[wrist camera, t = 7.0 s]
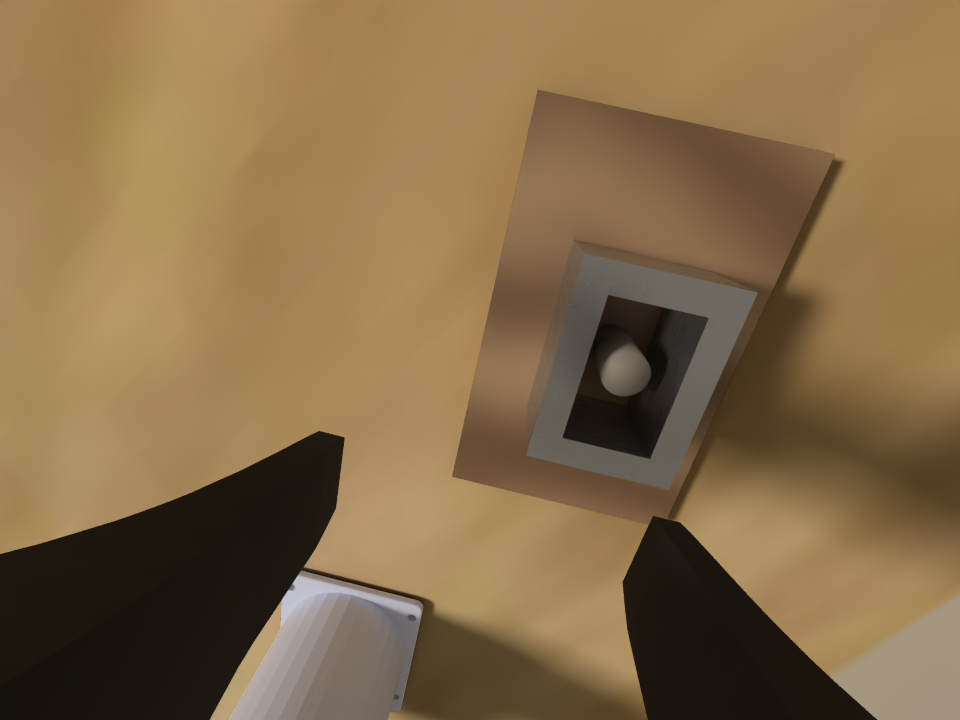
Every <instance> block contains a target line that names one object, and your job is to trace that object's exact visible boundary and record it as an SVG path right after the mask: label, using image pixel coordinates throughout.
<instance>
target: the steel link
mask: <svg viewBox="0 0 960 720" xmlns="http://www.w3.org/2000/svg"><path fill="white" fill-rule="evenodd" d="M757 293H758V292H755V291H753V290H751V289H749V288H746V287H744V286H742V285H740V284H738V283H735V282H733V281H731V280H729V279H726V278H724V277H722V276H720V275H718V274H715V273H713V272H711V271H709V270H706V269H702V268H697V267H693V266H688V265H684V264H680V263H675V262H671V261H666V260H662V259H657V258H653V257H649V256H644V255H640V254H635V253H631V252H626V251H622V250H618V249H613V248H609V247H604V246H600V245H595V244H591V243H587V242H582V241H578V240H573V242H572V246H571V249H570V253H569V256H568V260H567V264H566V267H565V271H564V274H563V278H562V282H561V285H560V289H559V292H558V296H557V300H556V303H555V307H554V310H553V314H552V318H551V321H550V325H549V328H548V332H547V336H546V339H545V343H544V346H543V350H542V354H541V357H540V361H539V364H538V368H537V372H536V375H535V379H534V382H533V386H532V390H531V393H530V397H529V400H528V404H527V437H526V456H530V457H534V458H538V459H542V460H546V461H550V462H554V463H559V464H563V465H567V466H571V467H575V468H579V469H583V470H587V471H592V472H596V473H600V474H604V475H608V476H612V477H616V478H621V479H625V480H629V481H633V482H637V483H641V484H645V485H649V486H654V487H658V488H662V489H666V490H669V489H670V487H671V485H672V482H673V480H674V478H675V476H676V473H677V471H678V469H679V467H680V465H681V462H682V460H683V458H684V456H685V453H686V451H687V449H688V447H689V445H690V442H691V440H692V438H693V436H694V433H695V431H696V429H697V427H698V425H699V422H700V420H701V418H702V416H703V413H704V411H705V409H706V407H707V405H708V402H709V400H710V398H711V396H712V393H713V391H714V389H715V387H716V385H717V382H718V380H719V378H720V376H721V373H722V371H723V369H724V367H725V365H726V362H727V360H728V358H729V356H730V353H731V351H732V349H733V347H734V345H735V342H736V340H737V338H738V336H739V333H740V331H741V329H742V327H743V325H744V322H745V320H746V318H747V316H748V313H749V311H750V309H751V307H752V305H753V302H754V300H755V298H756V296H757ZM608 295H611V296H616V297H620V298H624V299H629V300H633V301H637V302H642V303H646V304H651V305H655V306H659V307H663V310H662V312H661V315H660V318H659V320H658V323H657V326H656V329H655V331H654V334H653V337H652V339H651V342H650V345H649V347H648V350H647V353H646V355H645V359H646V360H647V362H648V363H649V365H650V369H651V375H650V380H649V382H648V384H647V385H646V386H645V388H644V389H642V390H641V391H640V392H638V393H636V394H634V395H631V396H630V398H629V401H628V404H627V405H623V404H618V403H614V402H610V401H606V400H602V399H597V398H593V397H589V396H585V395H580V394H576V393H577V390H578V387H579V384H580V381H581V378H582V375H583V372H584V369H585V365H586V362H587V359H588V356H589V353H590V350H591V347H592V344H593V341H594V337H595V334H596V331H597V328H598V325H599V322H600V319H601V316H602V313H603V309H604V306H605V303H606V300H607V297H608Z"/></svg>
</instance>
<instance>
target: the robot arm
mask: <svg viewBox="0 0 960 720" xmlns="http://www.w3.org/2000/svg"><path fill="white" fill-rule="evenodd" d="M344 439H345V437H341V436H337V435H333V434H329V433H325V432H321V431H318V432H316V433H314V434H312V435H310V436H308V437H306V438H304V439H302V440H300V441H298V442H296V443H294V444H292V445H290V446H289V447H287V448H285V449H283V450H281V451H279V452H277V453H275V454H273V455H271V456H269V457H267V458H265V459H263V460H261V461H259V462H257V463H255V464H253V465H251V466H249V467H247V468H245V469H243V470H241V471H239V472H237V473H234V474H232V475H230V476H228V477H225V478H223V479H221V480H219V481H216V482H214V483H212V484H210V485H207V486H205V487H203V488H201V489H198V490H196V491H194V492H192V493H189V494H187V495H184V496H182V497H180V498H177V499H175V500H172V501H169V502H167V503H164V504H162V505H159V506H156V507H153V508H151V509H148V510H145V511H142V512H140V513H137V514H134V515H131V516H129V517H126V518H123V519H120V520H117V521H114V522H111V523H107V524H104V525H101V526H97V527H94V528H91V529H87V530H84V531H81V532H78V533H74V534H71V535H68V536H64V537H61V538H58V539H54V540H51V541H48V542H45V543H41V544H37V545H34V546H30V547H26V548H22V549H18V550H14V551H11V552H7V553H3V554H0V720H210V718H211V716H212V714H213V712H214V711H215V709H216V707H217V705H218V703H219V701H220V700H221V698H222V696H223V694H224V692H225V691H226V689H227V687H228V685H229V683H230V681H231V680H232V678H233V676H234V674H235V672H236V671H237V669H238V667H239V665H240V664H241V662H242V660H243V659H244V657H245V655H246V654H247V652H248V650H249V649H250V647H251V646H252V644H253V642H254V641H255V639H256V638H257V636H258V635H259V633H260V632H261V630H262V629H263V627H264V626H265V624H266V623H267V621H268V620H269V618H270V617H271V615H272V614H273V612H274V611H275V609H276V608H277V606H278V605H279V603H280V602H281V600H282V610H281V628H280V631H279V633H278V634H277V636H276V638H275V640H274V641H273V643H272V645H271V647H270V648H269V650H268V652H267V653H266V655H265V657H264V659H263V660H262V662H261V664H260V666H259V667H258V669H257V671H256V672H255V674H254V676H253V678H252V679H251V681H250V683H249V685H248V686H247V688H246V690H245V691H244V693H243V695H242V697H241V698H240V700H239V702H238V704H237V705H236V707H235V709H234V710H233V712H232V714H231V716H230V717H229V719H228V720H388V717H389V713H390V711H392V712H397V711H399V710H400V709H401V707H402V703H403V698H404V694H405V689H406V685H407V680H408V676H409V671H410V667H411V662H412V657H413V653H414V648H415V644H416V639H417V635H418V630H419V626H420V621H421V617H422V612H423V605H422V603H421V602H420V601H418V600H415V599H411V598H407V597H403V596H399V595H395V594H391V593H387V592H383V591H379V590H376V589H372V588H368V587H364V586H360V585H356V584H352V583H348V582H344V581H340V580H336V579H332V578H328V577H324V576H320V575H317V574H313V573H309V572H305V571H301V570H302V569H303V567H304V565H305V564H306V562H307V561H308V559H309V558H310V556H311V555H312V553H313V552H314V550H315V549H316V547H317V545H318V543H319V541H320V539H321V537H322V535H323V533H324V531H325V529H326V527H327V525H328V523H329V521H330V519H331V517H332V515H333V513H334V511H335V509H336V504H337V496H338V487H339V479H340V471H341V463H342V455H343V447H344ZM623 591H624V603H625V613H626V621H627V629H628V634H629V639H630V644H631V648H632V652H633V657H634V661H635V666H636V670H637V675H638V679H639V683H640V688H641V692H642V696H643V701H644V705H645V709H646V714H647V718H648V720H877V719H876V718H875V717H873V716H872V715H871V714H870V713H869V712H868V711H866V709H865V708H863V707H862V706H861V705H860V704H859V703H858V702H857V701H856V700H855V699H853V698H852V697H851V696H850V695H849V694H848V693H847V692H846V691H845V690H843V689H842V688H841V687H840V686H839V685H838V684H837V683H835V682H834V681H833V680H832V679H831V678H830V677H829V676H828V675H827V674H826V673H825V672H824V671H823V670H822V669H821V668H820V667H818V666H817V665H816V664H815V663H814V662H813V661H812V660H811V659H810V658H809V657H808V656H807V655H806V654H805V653H804V652H803V651H802V650H801V649H800V648H799V647H798V646H797V645H796V644H795V643H794V642H793V641H792V640H791V639H790V638H789V637H788V636H787V635H786V634H785V633H784V632H783V631H782V630H781V629H780V628H779V627H778V626H777V625H776V624H775V623H774V622H773V621H772V620H771V619H770V618H769V617H768V616H767V615H766V614H765V613H764V612H763V610H762V609H761V608H760V607H759V606H758V605H757V604H756V603H755V602H754V601H753V600H752V599H751V598H750V597H749V596H748V595H747V593H746V592H745V591H744V590H743V589H742V588H741V587H740V586H739V585H738V584H737V583H736V582H735V581H734V579H733V578H732V577H731V576H730V575H729V574H728V573H727V572H726V571H725V570H724V569H723V567H722V566H721V565H720V564H719V563H718V562H717V561H716V560H715V559H714V558H713V556H712V555H711V554H710V553H709V552H708V551H707V550H706V549H705V548H704V547H703V546H702V545H701V543H700V542H699V541H698V540H697V539H696V538H695V537H694V536H693V535H692V534H691V533H690V532H689V531H688V530H687V529H686V528H685V527H684V526H683V525H682V524H681V523H680V522H676V521H672V520H668V519H664V518H660V517H656V516H653V517H652V519H651V521H650V524H649V526H648V528H647V530H646V532H645V534H644V537H643V539H642V541H641V543H640V545H639V548H638V550H637V552H636V554H635V556H634V558H633V561H632V563H631V565H630V567H629V569H628V572H627V574H626V576H625V578H624V580H623Z"/></svg>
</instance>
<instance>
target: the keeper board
mask: <svg viewBox="0 0 960 720" xmlns="http://www.w3.org/2000/svg"><path fill="white" fill-rule="evenodd" d="M834 156H835V154H833V153H828V152H824V151H819V150H814V149H810V148H805V147H801V146H796V145H791V144H787V143H782V142H777V141H773V140H768V139H764V138H759V137H754V136H750V135H745V134H740V133H736V132H731V131H726V130H722V129H717V128H713V127H708V126H703V125H699V124H694V123H689V122H685V121H680V120H676V119H671V118H666V117H662V116H657V115H652V114H648V113H643V112H638V111H634V110H629V109H625V108H620V107H615V106H611V105H606V104H601V103H597V102H592V101H588V100H583V99H578V98H574V97H569V96H564V95H560V94H555V93H550V92H546V91H541V90H538V91H537V96H536V100H535V105H534V109H533V114H532V118H531V123H530V127H529V132H528V136H527V141H526V145H525V150H524V154H523V159H522V163H521V168H520V172H519V177H518V181H517V186H516V191H515V195H514V200H513V204H512V209H511V213H510V218H509V222H508V227H507V231H506V236H505V240H504V245H503V249H502V254H501V258H500V263H499V267H498V272H497V276H496V281H495V285H494V290H493V294H492V299H491V303H490V308H489V313H488V317H487V322H486V326H485V331H484V335H483V340H482V344H481V349H480V353H479V358H478V362H477V367H476V371H475V376H474V380H473V385H472V389H471V394H470V398H469V403H468V407H467V412H466V416H465V421H464V425H463V430H462V434H461V439H460V444H459V448H458V453H457V457H456V462H455V466H454V471H453V475H452V477H456V478H460V479H464V480H468V481H472V482H476V483H480V484H485V485H489V486H493V487H497V488H501V489H505V490H509V491H513V492H517V493H521V494H525V495H529V496H534V497H538V498H542V499H546V500H550V501H554V502H558V503H562V504H566V505H570V506H574V507H578V508H583V509H587V510H591V511H595V512H599V513H603V514H607V515H611V516H615V517H619V518H623V519H628V520H632V521H636V522H640V523H644V524H648V525H649V524H650V521H651V519H652V517H653V516H656V517H660V518H664V519H667V518H668V515H669V513H670V511H671V509H672V507H673V505H674V502H675V500H676V498H677V496H678V494H679V492H680V489H681V487H682V485H683V483H684V481H685V479H686V476H687V474H688V472H689V470H690V468H691V466H692V463H693V461H694V459H695V457H696V455H697V453H698V450H699V448H700V446H701V444H702V442H703V440H704V437H705V435H706V433H707V431H708V429H709V427H710V424H711V422H712V420H713V418H714V416H715V414H716V411H717V409H718V407H719V405H720V403H721V401H722V398H723V396H724V394H725V392H726V390H727V388H728V385H729V383H730V381H731V379H732V377H733V375H734V372H735V370H736V368H737V366H738V364H739V362H740V359H741V357H742V355H743V353H744V351H745V349H746V346H747V344H748V342H749V340H750V338H751V336H752V333H753V331H754V329H755V327H756V325H757V323H758V320H759V318H760V316H761V314H762V312H763V310H764V307H765V305H766V303H767V301H768V299H769V297H770V294H771V292H772V290H773V288H774V286H775V284H776V281H777V279H778V277H779V275H780V273H781V271H782V268H783V266H784V264H785V262H786V260H787V258H788V255H789V253H790V251H791V249H792V247H793V245H794V243H795V240H796V238H797V236H798V234H799V232H800V230H801V227H802V225H803V223H804V221H805V219H806V217H807V214H808V212H809V210H810V208H811V206H812V204H813V201H814V199H815V197H816V195H817V193H818V191H819V188H820V186H821V184H822V182H823V180H824V178H825V175H826V173H827V171H828V169H829V167H830V165H831V162H832V160H833V158H834ZM573 240H578V241H582V242H587V243H591V244H595V245H600V246H604V247H609V248H613V249H618V250H622V251H626V252H631V253H635V254H640V255H644V256H649V257H653V258H657V259H662V260H666V261H671V262H675V263H680V264H684V265H688V266H693V267H697V268H702V269H706V270H709V271H711V272H713V273H715V274H718V275H720V276H722V277H724V278H726V279H729V280H731V281H733V282H735V283H738V284H740V285H742V286H744V287H746V288H749V289H751V290H753V291H755V292H758V293H757V296H756V298H755V300H754V302H753V305H752V307H751V309H750V311H749V313H748V316H747V318H746V320H745V322H744V325H743V327H742V329H741V331H740V333H739V336H738V338H737V340H736V342H735V345H734V347H733V349H732V351H731V353H730V356H729V358H728V360H727V362H726V365H725V367H724V369H723V371H722V373H721V376H720V378H719V380H718V382H717V385H716V387H715V389H714V391H713V393H712V396H711V398H710V400H709V402H708V405H707V407H706V409H705V411H704V413H703V416H702V418H701V420H700V422H699V425H698V427H697V429H696V431H695V433H694V436H693V438H692V440H691V442H690V445H689V447H688V449H687V451H686V453H685V456H684V458H683V460H682V462H681V465H680V467H679V469H678V471H677V473H676V476H675V478H674V480H673V482H672V485H671V487H670V489H669V490H666V489H662V488H658V487H654V486H649V485H645V484H641V483H637V482H633V481H629V480H625V479H621V478H616V477H612V476H608V475H604V474H600V473H596V472H592V471H587V470H583V469H579V468H575V467H571V466H567V465H563V464H559V463H554V462H550V461H546V460H542V459H538V458H534V457H530V456H526V437H527V404H528V400H529V397H530V393H531V390H532V386H533V382H534V379H535V375H536V372H537V368H538V364H539V361H540V357H541V354H542V350H543V346H544V343H545V339H546V336H547V332H548V328H549V325H550V321H551V318H552V314H553V310H554V307H555V303H556V300H557V296H558V292H559V289H560V285H561V282H562V278H563V274H564V271H565V267H566V264H567V260H568V256H569V253H570V249H571V246H572V242H573ZM662 310H663V307H659V306H655V305H651V304H646V303H642V302H637V301H633V300H629V299H624V298H620V297H616V296H611V295H608V297H607V300H606V303H605V306H604V309H603V313H602V316H601V319H600V322H599V325H598V328H597V331H596V334H595V337H594V341H593V344H592V347H591V350H590V353H589V356H588V359H587V362H586V365H585V369H584V372H583V375H582V378H581V381H580V384H579V387H578V390H577V393H576V394H580V395H585V396H589V397H593V398H597V399H602V400H606V401H610V402H614V403H618V404H623V405H627V404H628V401H629V398H630V396H631V395H634V394H636V393H638V392H640V391H641V390H642V389H644V388H645V386H646V385H647V384H648V382H649V380H650V375H651V369H650V365H649V363H648V362H647V360H646V359H645V355H646V353H647V350H648V347H649V345H650V342H651V339H652V337H653V334H654V331H655V329H656V326H657V323H658V320H659V318H660V315H661V312H662Z"/></svg>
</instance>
